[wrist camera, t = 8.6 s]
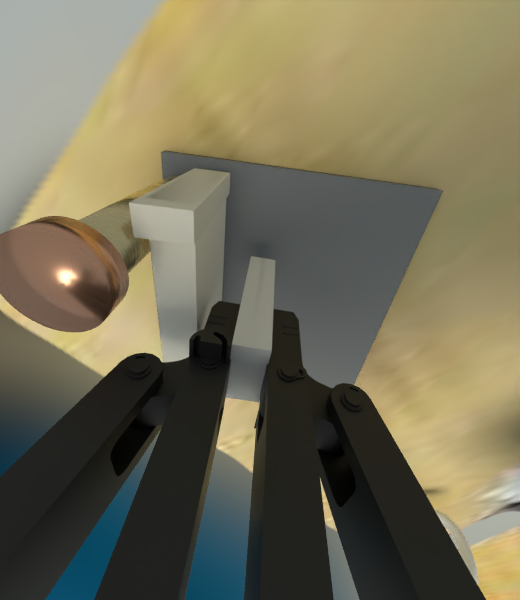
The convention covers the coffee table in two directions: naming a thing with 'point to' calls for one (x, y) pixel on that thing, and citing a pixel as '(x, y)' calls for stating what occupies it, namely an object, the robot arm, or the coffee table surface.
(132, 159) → the coffee table surface
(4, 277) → the brass capped rod
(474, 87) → the coffee table surface
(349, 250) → the mat
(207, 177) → the beige piece
